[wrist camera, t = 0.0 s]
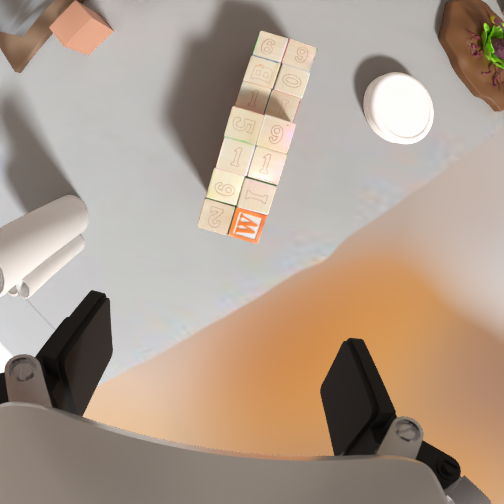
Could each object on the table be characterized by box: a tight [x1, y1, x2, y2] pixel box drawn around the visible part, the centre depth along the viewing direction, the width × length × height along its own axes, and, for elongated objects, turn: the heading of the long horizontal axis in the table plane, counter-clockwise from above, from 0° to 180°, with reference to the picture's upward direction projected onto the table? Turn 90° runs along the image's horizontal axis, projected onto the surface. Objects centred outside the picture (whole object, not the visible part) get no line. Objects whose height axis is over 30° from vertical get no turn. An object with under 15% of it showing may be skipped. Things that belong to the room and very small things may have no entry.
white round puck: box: [363, 72, 434, 144], centre depth 34 cm, size 10×10×4 cm
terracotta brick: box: [49, 0, 113, 55], centre depth 27 cm, size 5×5×7 cm
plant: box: [439, 0, 504, 111], centre depth 25 cm, size 20×20×11 cm
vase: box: [0, 195, 89, 299], centre depth 32 cm, size 11×7×20 cm, turn 152°
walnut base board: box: [0, 0, 85, 73], centre depth 23 cm, size 18×18×8 cm
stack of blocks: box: [198, 31, 317, 244], centre depth 32 cm, size 21×6×12 cm, turn 163°
